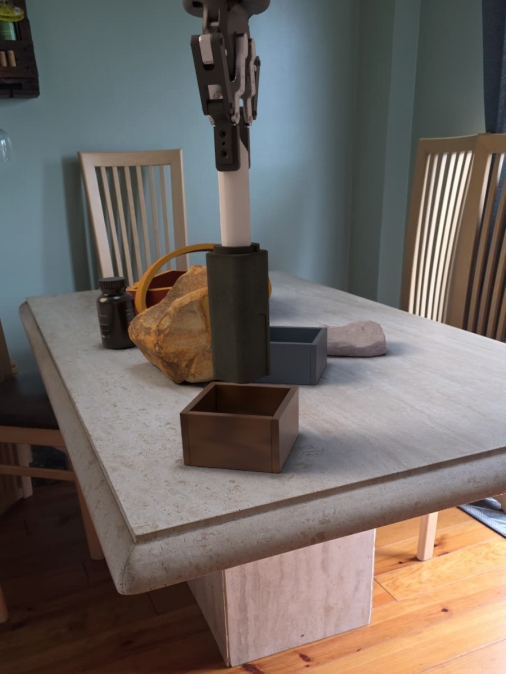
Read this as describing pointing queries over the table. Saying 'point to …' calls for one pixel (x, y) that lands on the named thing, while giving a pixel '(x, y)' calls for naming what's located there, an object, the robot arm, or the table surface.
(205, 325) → the rough brown rock
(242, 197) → the candle
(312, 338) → the crate right
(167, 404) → the table surface
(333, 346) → the stone block
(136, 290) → the decorative basket
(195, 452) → the crate left
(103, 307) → the supplement bottle
